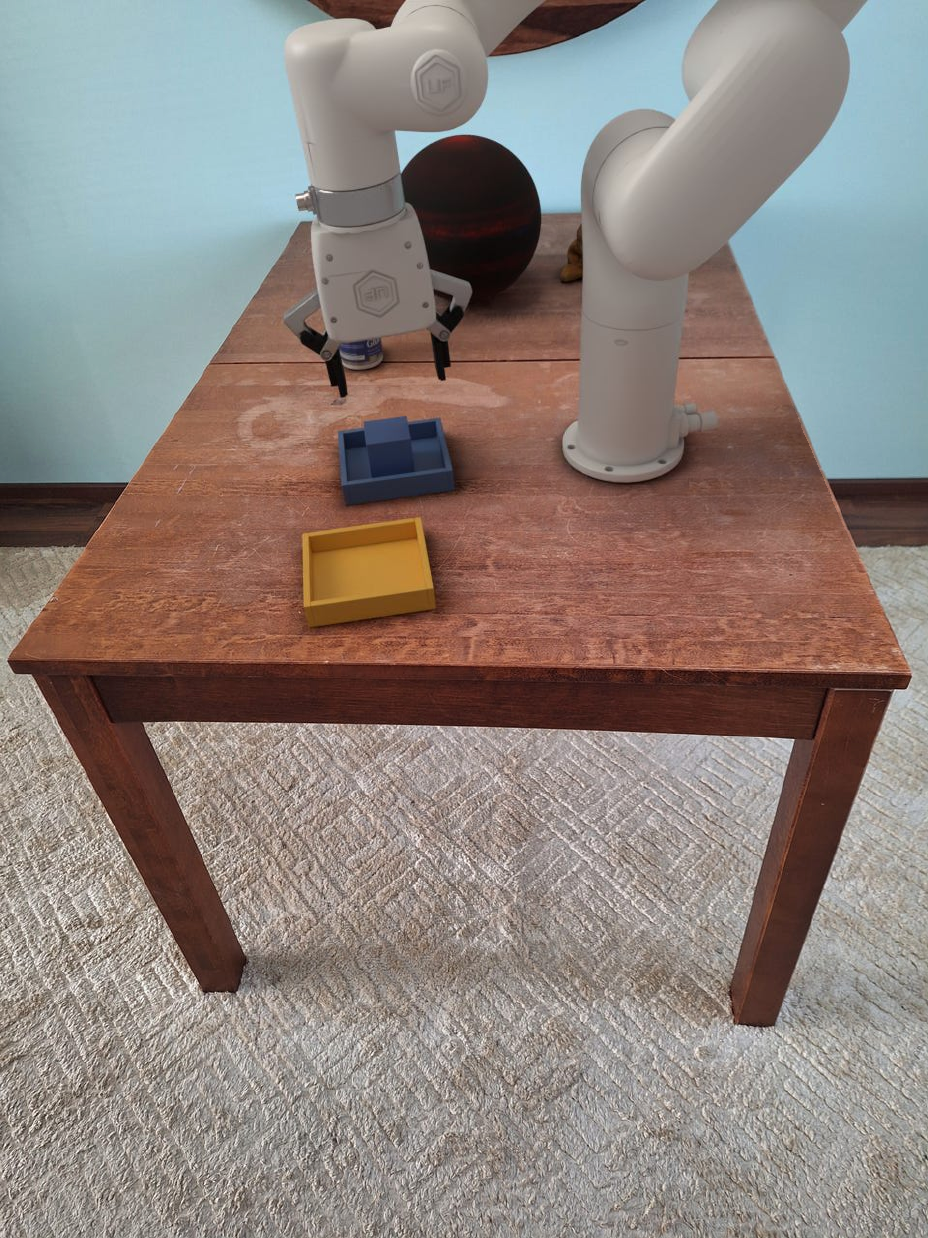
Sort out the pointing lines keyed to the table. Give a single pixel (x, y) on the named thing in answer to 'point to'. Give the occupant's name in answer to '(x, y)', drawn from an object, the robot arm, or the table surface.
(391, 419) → the blue block
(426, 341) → the table surface
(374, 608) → the mustard tray
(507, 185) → the decorative orb
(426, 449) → the blue tray
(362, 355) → the pill bottle
